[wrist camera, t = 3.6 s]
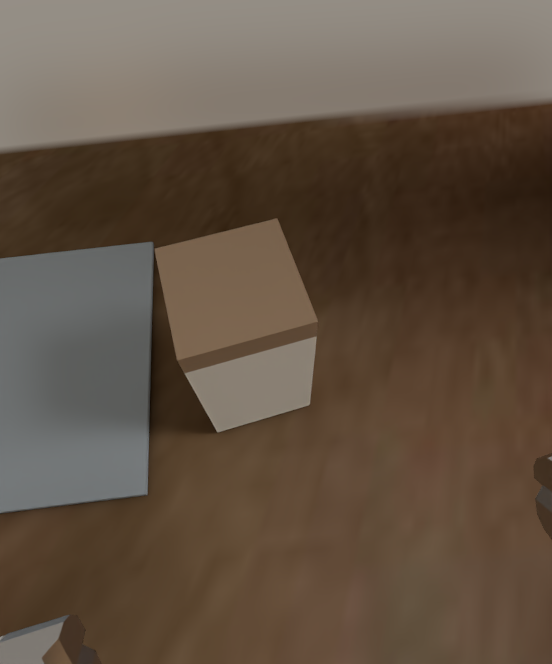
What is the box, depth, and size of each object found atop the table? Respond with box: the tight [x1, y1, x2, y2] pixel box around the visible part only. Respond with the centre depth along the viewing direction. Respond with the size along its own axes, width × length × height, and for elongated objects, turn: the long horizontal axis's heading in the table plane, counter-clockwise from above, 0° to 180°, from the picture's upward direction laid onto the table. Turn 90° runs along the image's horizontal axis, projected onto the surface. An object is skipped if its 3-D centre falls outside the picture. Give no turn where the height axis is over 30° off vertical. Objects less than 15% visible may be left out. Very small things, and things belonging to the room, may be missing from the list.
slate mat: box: [0, 242, 154, 513], centre depth 22 cm, size 14×14×1 cm
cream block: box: [154, 219, 318, 432], centre depth 18 cm, size 4×4×8 cm
